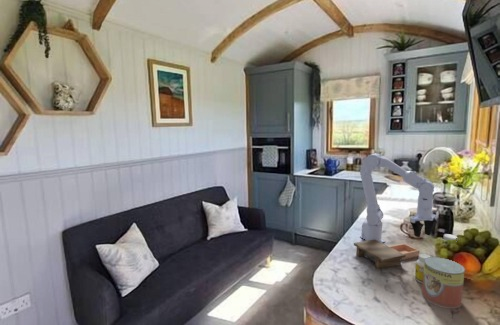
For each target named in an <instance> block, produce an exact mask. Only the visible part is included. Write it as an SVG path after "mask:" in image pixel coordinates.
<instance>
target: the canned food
mask: <svg viewBox="0 0 500 325" xmlns="http://www.w3.org/2000/svg"><path fill="white" fill-rule="evenodd" d="M424 262H425V263H424V275H423V283H422V287H421V295H422V297H423V298H424V299H425V300H426V301H428V302H429V303H431V304H433V305H436V306H438V307H441V308H445V309H458V308H460V307H462V304H463V302H462V299H463V289H464V280H465V272H466V268H465V267H464V266H463V265H462V264H460V263H459V262H458V263H457V262H455V261H452V260H449V259H445V258H440V257H439V256H431V257H428V258H426V259H425V260H424Z"/></svg>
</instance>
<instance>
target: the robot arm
mask: <svg viewBox="0 0 500 325" xmlns="http://www.w3.org/2000/svg"><path fill="white" fill-rule="evenodd" d="M377 167H378V168H387V169H388V170H390V171H391V172H394V173H395V174H397V175H399V176H400V177H402V180H403V182H405V183H406V184H408V185H409V186H411V187H412V188H414V189H417V190H418V198H417V208H416V214H415V215H413V216H411V217H410V218H409V223H410V225H411V226H412V229H413V233H414V237H416V238H420V237H421V234H422V229H423V227H424V234H425V235H427V236H431V234H432V231H433V229H434V228H435V226H436V225H437V223H438V221H437V220H438V215H437V214H435V213H434V214H433V213H432V212H433V204H434V203H433V201H434V198H433V197H434V192H435V184H434V183H433V182H432V181H431V180H429V179H427V178H426V177H424V178H423V177H422V176H421V175H419V174H417V171H415V170H414V171H412V170H406V169H405V168H403V167H401V166H400V165H398V164H396V163H395V162H394V161H392V160H391V159H390V158H387V157H386V156H385V155H381V154H380V153H379V152H375V153H372V154H369V155H367V156H366V157H365V158H364V159H363V162H362V165H361V167H360V170H359V175H360V179H361V184H362V188H363V193H364V197H365V202H366V218H365V219H366V220H364V221H363V222H362V224H361V232H360V233H361V236H359V238H361V239H362V238H363V240H364V239H365V240H364V241H368V240H374V239H375V240H377V241H379V242H381V243H385V242H386V240H384V239H382V238H383V237H382V234H383V222H382V220H383V218H384V212H383V211H382V210H381V206H380V204H379V203H378V198H377V193H376V189H375V185H374V180H373V175H372V173H373V172H374V170H375V169H376V168H377ZM422 222H423V223H422Z"/></svg>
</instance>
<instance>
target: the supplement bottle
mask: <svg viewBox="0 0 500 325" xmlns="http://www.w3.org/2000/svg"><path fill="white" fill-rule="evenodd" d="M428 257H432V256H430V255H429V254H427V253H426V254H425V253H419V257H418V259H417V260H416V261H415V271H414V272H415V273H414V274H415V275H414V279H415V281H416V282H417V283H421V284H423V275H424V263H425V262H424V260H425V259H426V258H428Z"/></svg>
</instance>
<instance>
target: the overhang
mask: <svg viewBox="0 0 500 325" xmlns="http://www.w3.org/2000/svg"><path fill="white" fill-rule="evenodd" d="M353 246H355V247H356V250H355V252H356V253H355V255H356V256H357V257H359V256H360V257H365V256H366V258H367V259H369V260H370V261H371V262H374V263H375V265H374V266H375V268H376V269H377V270H380V269H384V268H389V267H393V266H398V265H401V263H402V260H401V258H404V257H405V254H403V253H401V252H399V251H397V250H395V249H393V248H391V247H389V246H390V245H387V244H385V243H384V242H382V243H381V242H379V241H377V240H375V239H374V240H368V241H366V240H363V241H359V242H357V241H356V242H353Z"/></svg>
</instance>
